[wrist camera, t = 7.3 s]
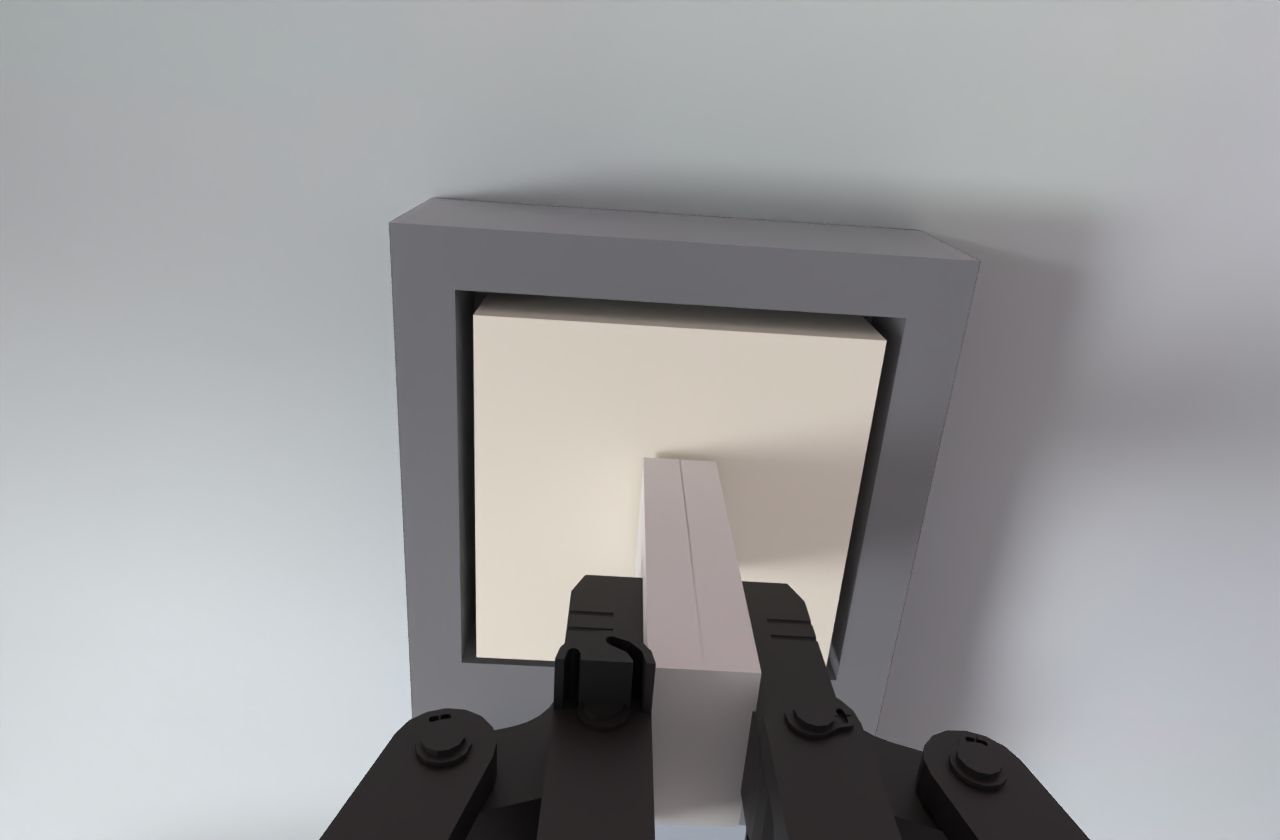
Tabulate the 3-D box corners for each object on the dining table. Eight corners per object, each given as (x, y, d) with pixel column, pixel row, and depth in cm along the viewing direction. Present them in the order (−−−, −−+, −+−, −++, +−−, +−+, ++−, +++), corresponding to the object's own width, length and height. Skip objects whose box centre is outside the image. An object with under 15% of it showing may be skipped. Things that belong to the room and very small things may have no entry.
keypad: (432, 197, 19) (388, 222, 15) (919, 230, 19) (980, 261, 16) (456, 1099, 31) (435, 1221, 28) (751, 1108, 32) (765, 1229, 28)
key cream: (491, 288, 18) (473, 314, 16) (857, 311, 18) (886, 340, 16) (491, 601, 21) (476, 657, 19) (806, 616, 21) (824, 673, 19)
